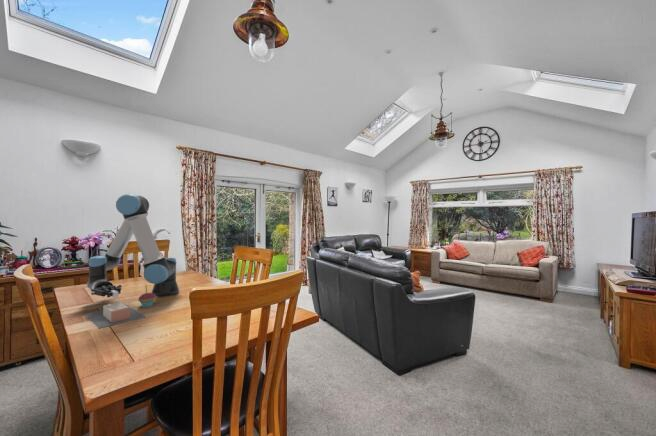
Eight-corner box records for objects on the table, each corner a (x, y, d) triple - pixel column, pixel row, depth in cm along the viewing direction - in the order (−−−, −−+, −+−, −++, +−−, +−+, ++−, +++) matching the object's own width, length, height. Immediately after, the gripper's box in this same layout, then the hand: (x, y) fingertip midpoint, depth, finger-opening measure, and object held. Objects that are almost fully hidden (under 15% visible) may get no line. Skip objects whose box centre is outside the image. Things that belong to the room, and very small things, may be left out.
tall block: (103, 305, 133) (112, 311, 125) (120, 302, 139) (130, 307, 130) (103, 315, 133) (112, 322, 125) (120, 311, 139) (130, 318, 130)
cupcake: (135, 307, 147) (135, 285, 147) (151, 302, 155) (151, 281, 155) (143, 309, 143) (144, 287, 143) (160, 305, 151) (160, 283, 151)
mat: (83, 314, 135) (83, 313, 135) (126, 305, 150) (126, 304, 150) (98, 329, 118) (98, 328, 118) (145, 317, 133) (145, 316, 133)
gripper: (117, 291, 151) (132, 299, 137) (86, 296, 141) (99, 306, 126) (117, 278, 151) (132, 285, 137) (86, 282, 141) (99, 290, 126)
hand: (116, 295), depth 132 cm, fingers closed
